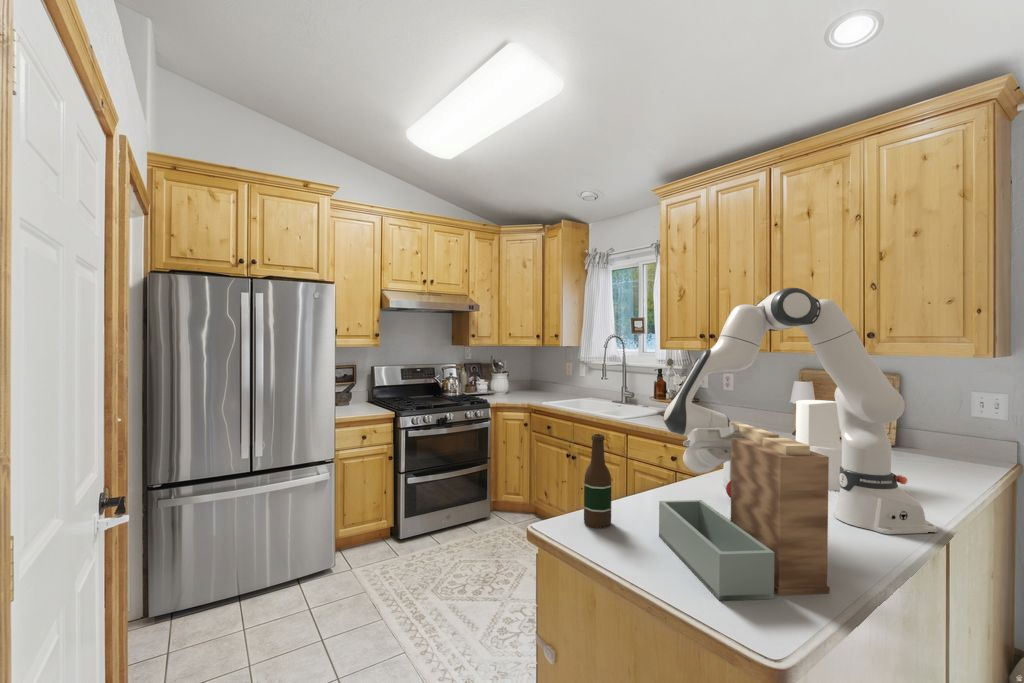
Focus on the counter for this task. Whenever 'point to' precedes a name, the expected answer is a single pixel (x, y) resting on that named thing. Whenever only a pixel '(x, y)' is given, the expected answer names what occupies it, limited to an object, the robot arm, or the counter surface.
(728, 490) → the red round fruit
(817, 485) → the stand
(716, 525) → the bin
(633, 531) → the counter surface
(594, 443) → the beer bottle
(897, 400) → the robot arm
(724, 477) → the supplement box
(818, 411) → the white rectangular block
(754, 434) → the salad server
